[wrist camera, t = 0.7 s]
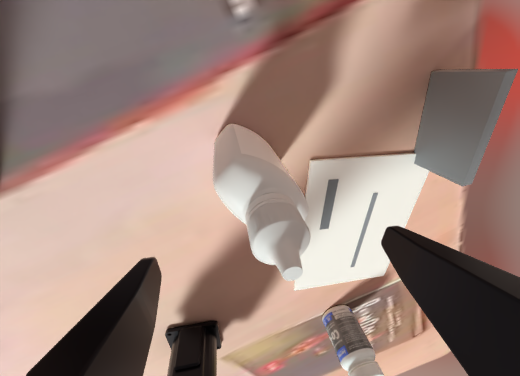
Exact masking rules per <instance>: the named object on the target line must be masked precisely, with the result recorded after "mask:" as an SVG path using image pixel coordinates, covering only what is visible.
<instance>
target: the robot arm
mask: <svg viewBox="0 0 520 376" xmlns="http://www.w3.org/2000/svg"><path fill="white" fill-rule="evenodd" d="M381 245H382V248H383V250H384V251H385V253H386V255H387V256H388V258H389V260H390V262H391V263H392V265H393V267H394V268H395V270H396V272H397V274H398V275H399V277H400V278H401V280H402V282H403V283H404V285H405V286H406V288H407V289H408V290H409V292H410V293H411V295H412V296H413V298H414V299H415V300H416V302H417V303H418V305H419V306H420V307H421V309H422V310H423V312H424V313H425V315H426V316H427V317H428V319H429V320H430V322H431V323H432V324H433V326H434V327H435V329H436V330H437V332H438V333H439V334H440V336H441V337H442V339H443V340H444V341H445V343H446V344H447V346H448V347H449V348H450V350H451V351H452V353H453V354H454V356H455V357H456V358H457V360H458V361H459V363H460V364H461V365H462V367H463V368H464V370H465V371H466V373H467V374H468V375H469V376H520V277H517V276H515V275H513V274H511V273H508V272H506V271H503V270H501V269H499V268H496V267H494V266H492V265H489V264H487V263H485V262H482V261H480V260H477V259H475V258H473V257H471V256H468V255H466V254H464V253H461V252H459V251H457V250H454V249H452V248H450V247H447V246H445V245H442V244H440V243H438V242H435V241H433V240H431V239H428V238H426V237H424V236H421V235H419V234H417V233H414V232H412V231H410V230H407V229H405V228H403V227H400V226H389V227H387V228H386V230H385V232H384V235H383V238H382V240H381ZM160 286H161V271H160V268H159V265H158V262H157V260H156V258H155V257H150V258H143V259H141V260H140V261H139V262H138V263H137V264H136V265H135V266H134V267H133V268H132V269H131V270H130V271H129V272H128V273H127V274H126V275H125V276H124V277H123V278H122V279H121V280H120V281H119V282H118V283H117V284H116V285H115V286H114V287H113V288H112V289H111V290H110V291H109V292H108V293H107V294H106V295H105V296H104V297H103V298H102V299H101V300H100V301H99V302H98V303H97V304H96V305H95V306H94V307H93V308H92V309H91V310H90V311H89V312H88V313H87V314H86V315H85V316H84V317H83V318H82V319H81V320H80V321H79V322H78V323H77V324H76V325H75V326H74V327H73V328H72V329H71V330H70V331H69V332H68V333H67V334H66V335H65V336H64V337H63V338H62V339H61V340H60V341H59V342H58V343H57V344H56V345H55V346H54V347H53V348H52V349H51V350H50V351H49V352H48V353H47V354H46V355H45V356H44V357H43V358H42V359H41V360H40V361H39V362H38V363H37V364H36V365H35V366H34V367H33V368H32V369H31V370H30V371H29V372H28V373H27V374H26V376H143V373H144V369H145V365H146V361H147V357H148V352H149V348H150V344H151V340H152V336H153V332H154V327H155V322H156V315H157V308H158V301H159V293H160ZM165 336H166V338H167V341H168V343H169V345H170V348H171V356H170V362H169V368H168V374H167V376H216V365H217V349H220V348H221V339H220V334H219V328H218V323H217V322H216V321H211V322H206V323H200V324H195V325H189V326H184V327H178V328H172V329H168V330H166V333H165Z"/></svg>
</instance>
